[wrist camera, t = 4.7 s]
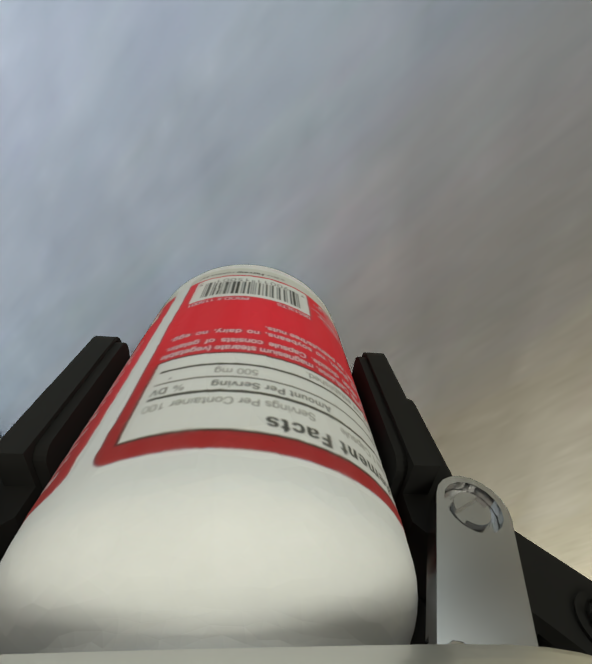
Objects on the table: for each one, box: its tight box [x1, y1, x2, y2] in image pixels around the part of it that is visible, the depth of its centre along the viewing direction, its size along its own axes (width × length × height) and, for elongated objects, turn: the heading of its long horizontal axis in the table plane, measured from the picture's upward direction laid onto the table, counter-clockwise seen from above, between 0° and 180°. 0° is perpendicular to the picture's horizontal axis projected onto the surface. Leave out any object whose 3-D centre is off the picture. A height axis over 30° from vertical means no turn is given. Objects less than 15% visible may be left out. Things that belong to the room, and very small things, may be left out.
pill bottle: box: [0, 265, 418, 654], centre depth 7 cm, size 6×6×11 cm
